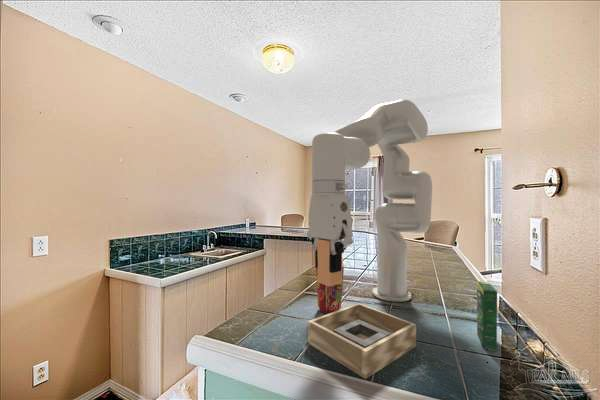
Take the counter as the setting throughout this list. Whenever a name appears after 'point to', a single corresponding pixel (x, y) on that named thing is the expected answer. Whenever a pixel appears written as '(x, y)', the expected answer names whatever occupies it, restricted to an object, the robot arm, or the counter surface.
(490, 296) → the coffee box
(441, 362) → the counter surface
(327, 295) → the smoothie
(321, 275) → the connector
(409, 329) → the walled tray
